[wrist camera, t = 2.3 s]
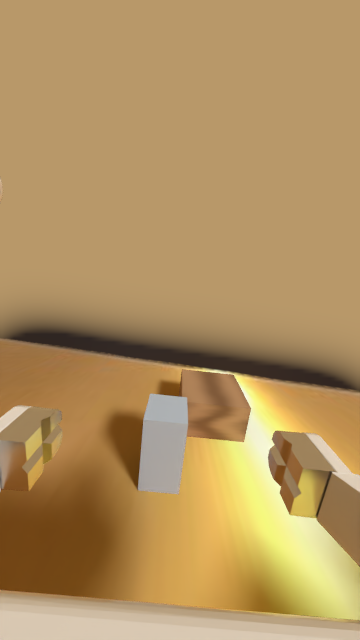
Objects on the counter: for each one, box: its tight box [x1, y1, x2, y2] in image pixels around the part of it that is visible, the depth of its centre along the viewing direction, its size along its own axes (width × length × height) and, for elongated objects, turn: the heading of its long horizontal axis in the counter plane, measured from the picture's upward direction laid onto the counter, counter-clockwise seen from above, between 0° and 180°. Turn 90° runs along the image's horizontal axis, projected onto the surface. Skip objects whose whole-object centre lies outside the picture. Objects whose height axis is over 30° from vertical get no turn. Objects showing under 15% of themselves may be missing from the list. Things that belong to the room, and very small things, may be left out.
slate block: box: [138, 394, 188, 494], centre depth 23 cm, size 4×4×9 cm
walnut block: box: [179, 370, 251, 442], centre depth 35 cm, size 10×10×6 cm
